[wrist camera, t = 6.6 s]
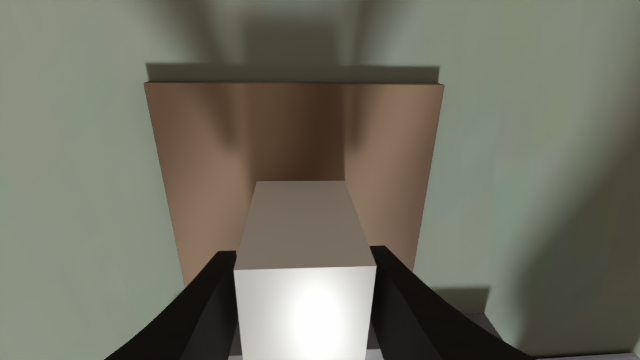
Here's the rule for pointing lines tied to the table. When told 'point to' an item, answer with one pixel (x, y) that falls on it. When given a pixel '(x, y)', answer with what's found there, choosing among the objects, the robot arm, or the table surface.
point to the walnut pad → (292, 154)
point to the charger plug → (304, 274)
